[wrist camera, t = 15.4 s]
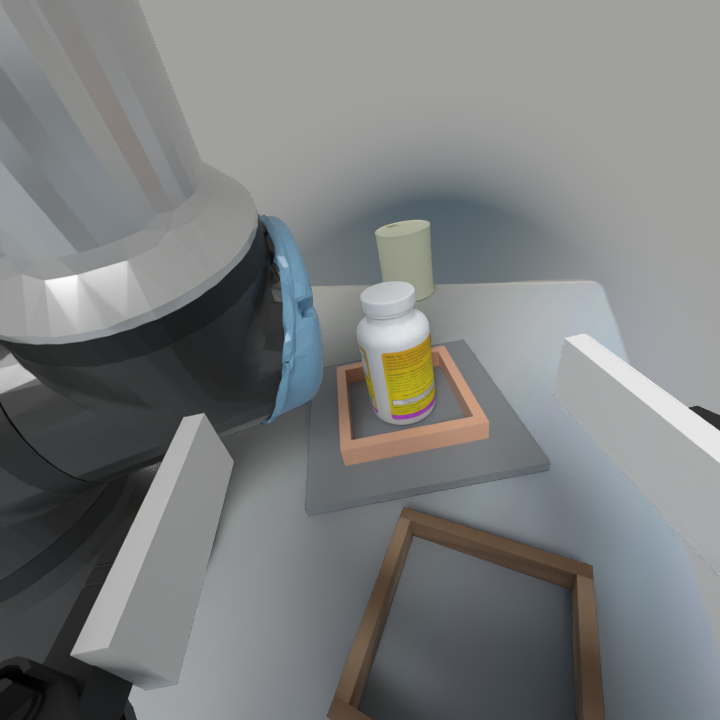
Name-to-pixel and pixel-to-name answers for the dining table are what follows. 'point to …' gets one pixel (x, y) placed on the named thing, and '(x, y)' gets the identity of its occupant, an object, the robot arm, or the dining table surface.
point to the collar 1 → (412, 438)
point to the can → (407, 255)
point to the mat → (420, 469)
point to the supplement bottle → (396, 353)
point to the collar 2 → (496, 551)
